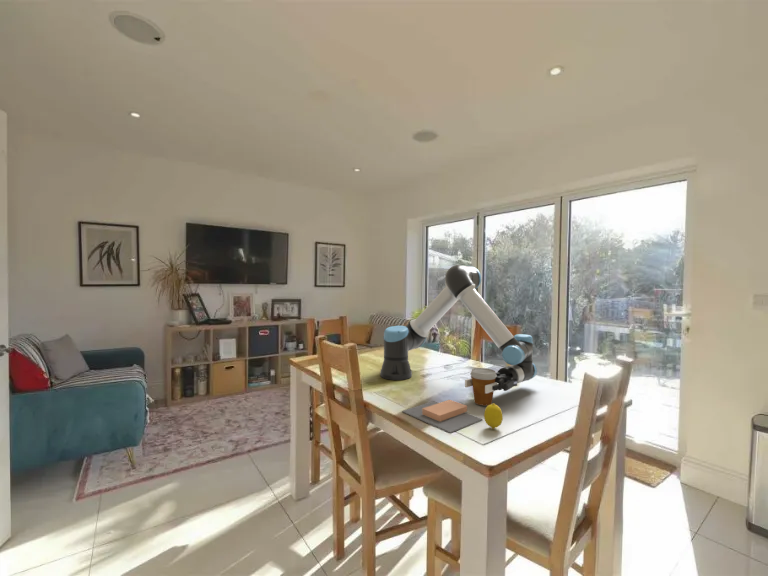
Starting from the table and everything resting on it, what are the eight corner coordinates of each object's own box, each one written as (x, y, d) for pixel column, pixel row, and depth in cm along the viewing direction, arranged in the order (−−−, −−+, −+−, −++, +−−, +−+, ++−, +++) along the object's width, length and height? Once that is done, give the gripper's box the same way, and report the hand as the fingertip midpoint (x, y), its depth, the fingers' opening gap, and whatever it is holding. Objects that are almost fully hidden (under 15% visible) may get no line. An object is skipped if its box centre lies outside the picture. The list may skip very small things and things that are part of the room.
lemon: (498, 424, 114) (498, 400, 114) (505, 432, 109) (505, 406, 108) (481, 425, 114) (481, 400, 114) (487, 432, 108) (487, 406, 108)
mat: (402, 411, 125) (402, 410, 125) (433, 401, 135) (433, 400, 135) (450, 433, 108) (450, 432, 108) (482, 420, 118) (482, 418, 118)
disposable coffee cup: (500, 407, 128) (500, 374, 128) (473, 407, 128) (474, 374, 128) (491, 398, 138) (492, 367, 137) (467, 398, 138) (467, 367, 137)
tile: (449, 405, 130) (422, 414, 121) (449, 399, 130) (422, 408, 121) (467, 412, 124) (439, 422, 115) (467, 405, 124) (439, 415, 115)
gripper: (534, 391, 136) (500, 404, 122) (487, 379, 152) (453, 389, 138) (535, 371, 136) (501, 383, 121) (488, 361, 152) (453, 370, 138)
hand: (475, 386), depth 130 cm, fingers closed on disposable coffee cup, 8 cm apart
